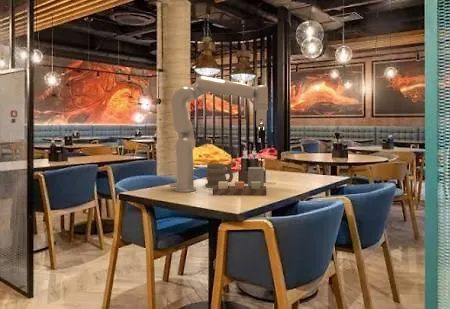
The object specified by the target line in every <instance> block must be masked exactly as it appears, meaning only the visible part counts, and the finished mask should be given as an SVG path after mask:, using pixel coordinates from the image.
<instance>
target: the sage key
mask: <svg viewBox="0 0 450 309" xmlns="http://www.w3.org/2000/svg"><path fill="white" fill-rule="evenodd" d="M251 189H260V181H251Z"/></svg>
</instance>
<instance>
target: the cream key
mask: <svg viewBox="0 0 450 309" xmlns="http://www.w3.org/2000/svg"><path fill="white" fill-rule="evenodd" d="M228 186H229V183H228V181H219V182H218V188H228Z"/></svg>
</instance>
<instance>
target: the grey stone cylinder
mask: <svg viewBox="0 0 450 309" xmlns="http://www.w3.org/2000/svg"><path fill="white" fill-rule="evenodd" d="M264 168H265V167H262V166H249V167H247V186H251V181H260V186H265V174H264V172H265V169H264Z"/></svg>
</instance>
